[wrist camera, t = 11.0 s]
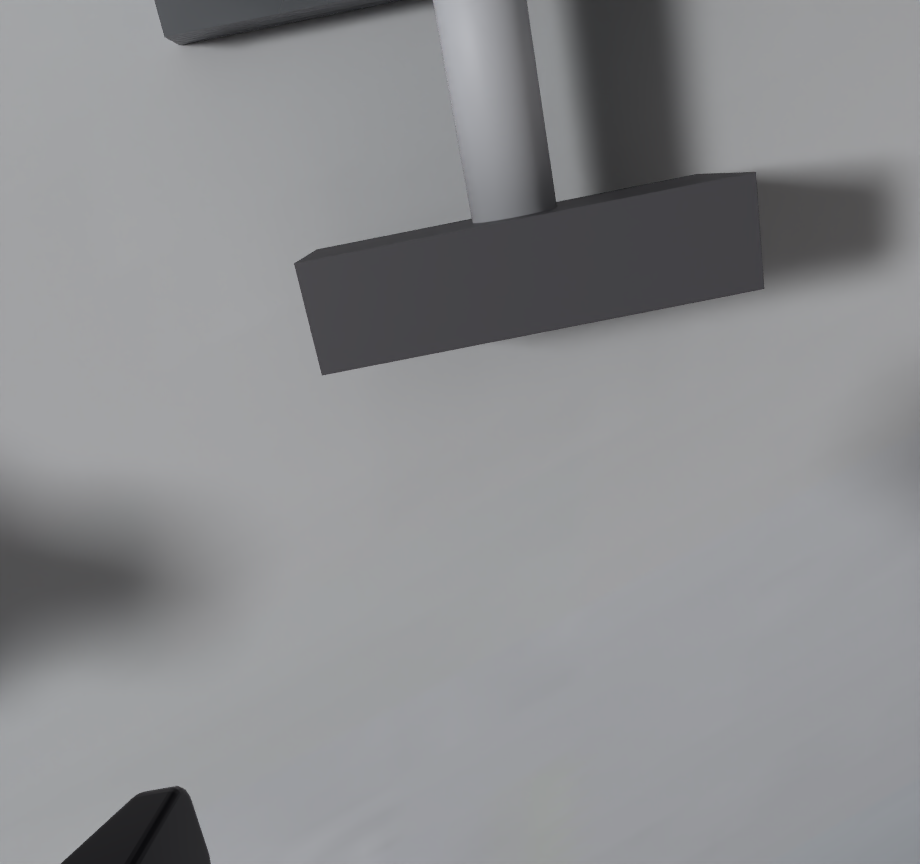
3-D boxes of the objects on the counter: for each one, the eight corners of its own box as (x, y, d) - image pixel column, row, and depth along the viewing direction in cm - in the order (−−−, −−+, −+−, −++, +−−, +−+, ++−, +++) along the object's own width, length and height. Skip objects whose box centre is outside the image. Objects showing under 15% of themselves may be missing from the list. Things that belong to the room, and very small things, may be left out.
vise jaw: (748, 260, 17) (827, 279, 14) (295, 349, 17) (264, 389, 14) (699, -372, 14) (787, -547, 10) (140, -254, 14) (51, -390, 11)
